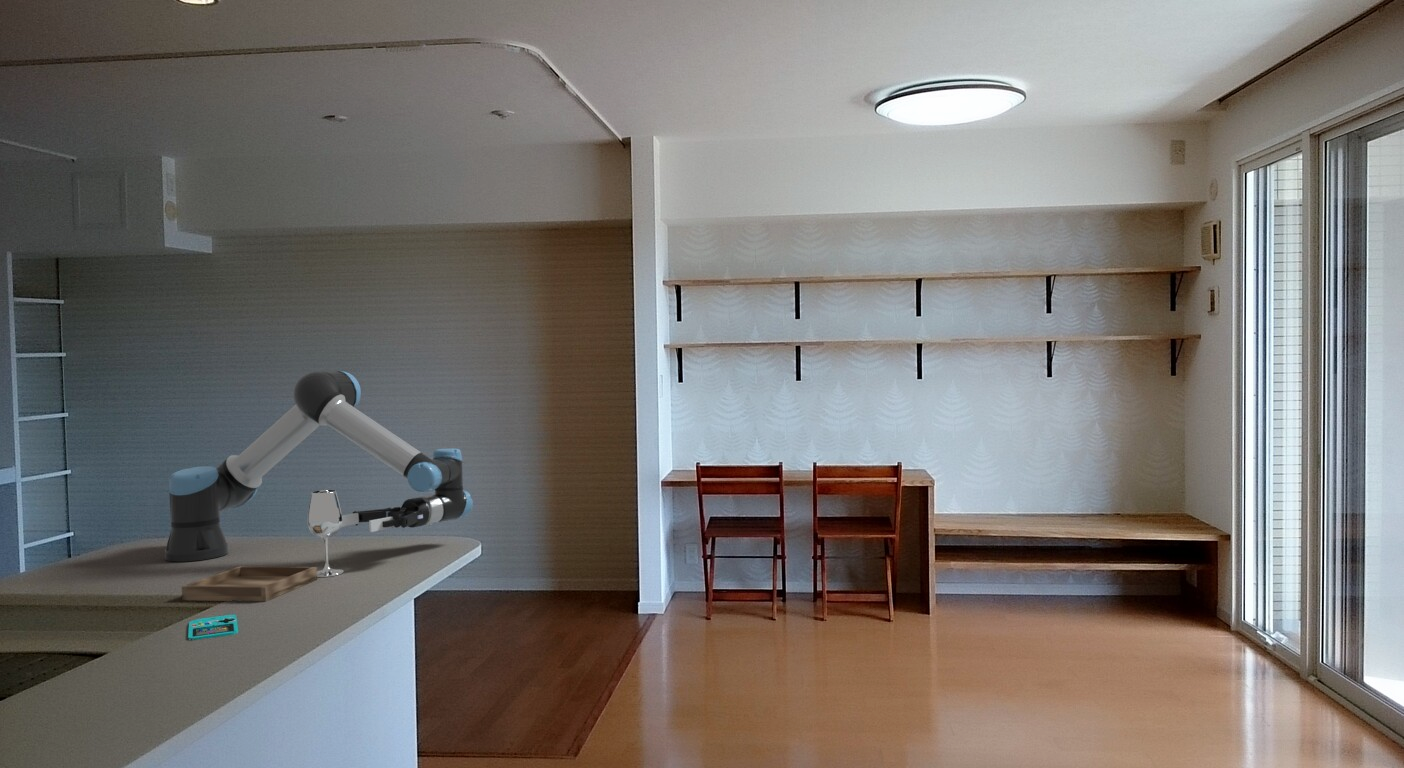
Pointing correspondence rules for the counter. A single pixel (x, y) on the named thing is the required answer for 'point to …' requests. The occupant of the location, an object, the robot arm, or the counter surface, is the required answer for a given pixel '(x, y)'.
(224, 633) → the handheld gaming console
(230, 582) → the walnut tray
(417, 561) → the counter surface
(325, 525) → the wineglass
